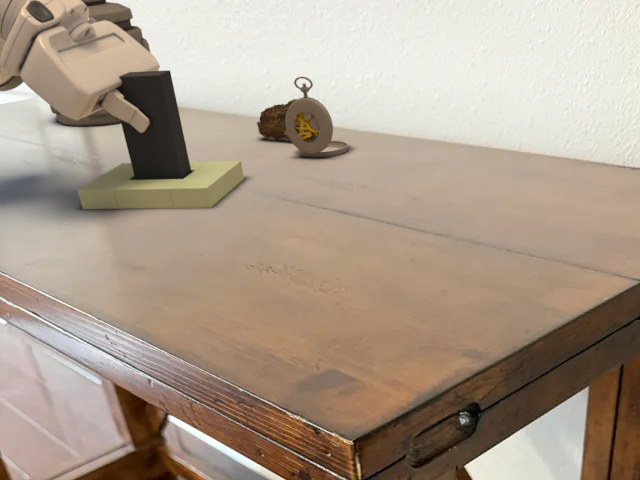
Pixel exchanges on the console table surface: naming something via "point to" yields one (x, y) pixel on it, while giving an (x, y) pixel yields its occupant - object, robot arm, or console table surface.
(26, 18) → the robot arm
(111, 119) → the grey power cell canister
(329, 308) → the console table surface
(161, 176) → the back pad
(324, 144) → the pocket watch
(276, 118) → the rock sample
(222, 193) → the seat pad
